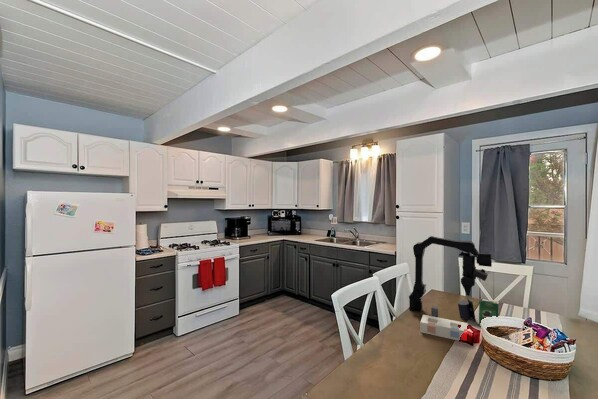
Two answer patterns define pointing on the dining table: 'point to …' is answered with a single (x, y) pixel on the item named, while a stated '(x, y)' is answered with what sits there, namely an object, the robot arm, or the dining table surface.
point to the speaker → (466, 310)
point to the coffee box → (487, 309)
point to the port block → (442, 327)
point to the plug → (434, 311)
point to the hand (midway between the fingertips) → (468, 293)
